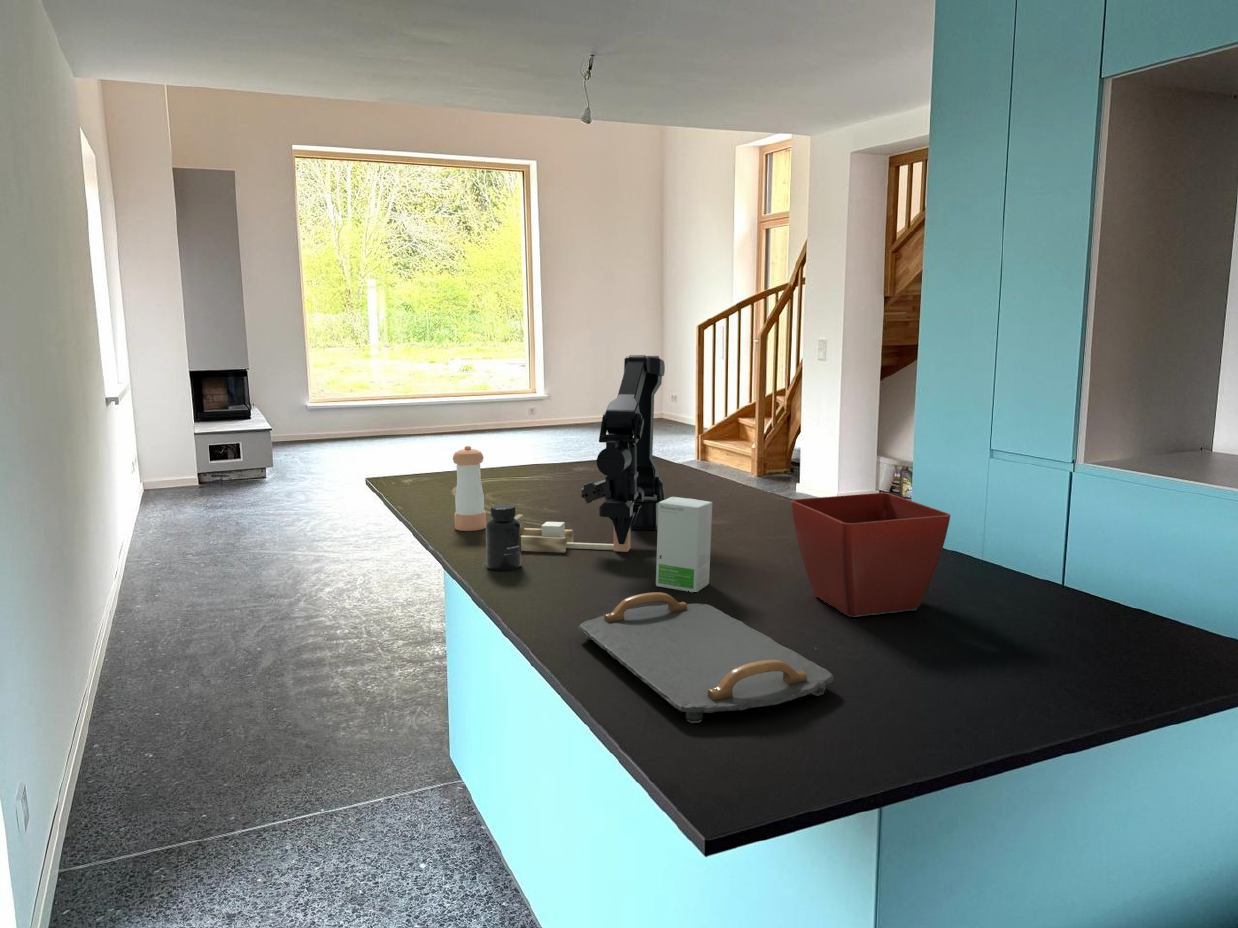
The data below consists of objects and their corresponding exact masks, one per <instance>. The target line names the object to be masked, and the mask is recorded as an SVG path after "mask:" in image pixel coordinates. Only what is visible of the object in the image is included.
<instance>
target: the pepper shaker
mask: <svg viewBox="0 0 1238 928" xmlns="http://www.w3.org/2000/svg"><path fill="white" fill-rule="evenodd" d="M452 461H453V463H454V464H455V465H456V489H455V497H454V501H455V503H454V504H455V512H454V529H455V530H457V531H462V532H463V531H464V532H471V531H473V532H474V531H480V530H484V529H486V524H487V514H486V511H485V496H484V492H483V491H484V490H483V486H482V485H483V484H482V474H481V464H482V463H483V461H484V454H483V453H482V452H481V451H480V450H478V449H475V448H472V446H470V445H466V446H464V447H463V448H462V449H460V450H458V451H455V452H454V453H453V457H452Z"/></svg>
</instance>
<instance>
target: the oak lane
mask: <svg viewBox="0 0 1238 928" xmlns="http://www.w3.org/2000/svg"><path fill="white" fill-rule="evenodd" d="M524 518H525V517H524V514H521V513H520V514H519V513H518V514H516V516H515V519H517V520H518V521H519V522H520V524H521V552H541V553H543V552H544V553H546V552H547V553H566V552H567V548H566V542H572V543H574V529H565V537H550V536H542V530H541V528H536V527H534V528H532V527H531V528H530V527H525V526H524V525H525V524H524V523H525V522H524Z"/></svg>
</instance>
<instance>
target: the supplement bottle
mask: <svg viewBox="0 0 1238 928" xmlns="http://www.w3.org/2000/svg"><path fill="white" fill-rule="evenodd" d="M489 514H490V515H489V517H490V518H491V519H489V520H488V521H486V528H485V546H486V547H485V556H486V557H485V559H486V561H485V563H486V566H487V568H488V569H489V570H492V571H500V572H502V571H504V572H505V571H512V570H513V571H514V570H516V569H519V568H520V567H521V565H522V551H521V524H520V522H519V521H518V520H517V519H515V516H517V513H516V505H512V504H496V505H492V506H490V513H489Z"/></svg>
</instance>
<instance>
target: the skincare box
mask: <svg viewBox="0 0 1238 928" xmlns="http://www.w3.org/2000/svg"><path fill="white" fill-rule="evenodd" d="M712 518H713V501H708V500H702V499H701V500H700V499H694V498H688V497H687V498H686V497H678V496H670V497H668V498H666V499H665V500H663V501H661V502H659V503H658V527H657V534H656V535H657V537H656V563H655V564H656V567H655V570H656V571H655V572H656V573H655V586H656V587H659V588H666V589H673V590H676V591H684V592H688V591H689V593H693V592H697V593H699V591H701V590H702V589H703V588H706V587H707V586H709V585H710V567H711V566H710V565H711V542H712V520H713V519H712Z"/></svg>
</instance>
